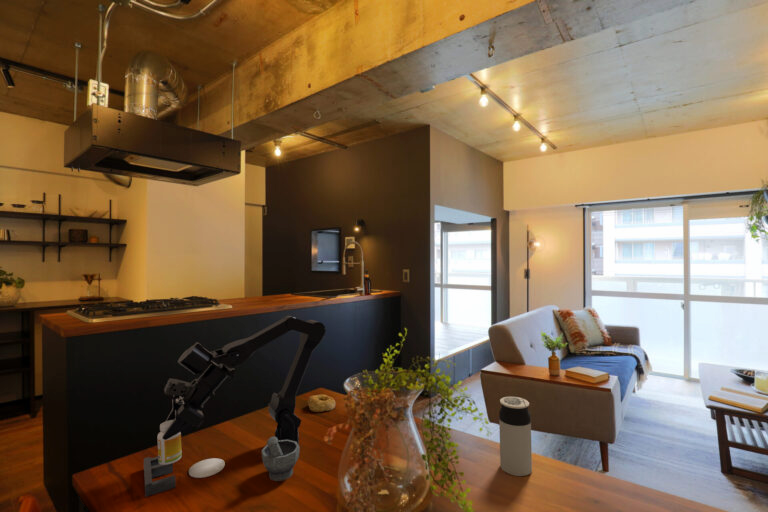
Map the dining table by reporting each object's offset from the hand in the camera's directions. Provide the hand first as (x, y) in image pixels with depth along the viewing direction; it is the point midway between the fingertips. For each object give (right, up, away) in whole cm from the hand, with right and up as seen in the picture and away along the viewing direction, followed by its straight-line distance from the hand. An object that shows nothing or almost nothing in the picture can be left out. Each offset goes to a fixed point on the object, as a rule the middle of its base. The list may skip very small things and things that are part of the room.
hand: (163, 434), depth 98 cm
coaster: (+9, -12, +6) cm, 16 cm away
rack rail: (-2, -12, +1) cm, 12 cm away
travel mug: (+93, -10, +2) cm, 94 cm away
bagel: (+34, -12, +47) cm, 59 cm away
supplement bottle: (+1, -7, +1) cm, 7 cm away
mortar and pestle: (+30, -12, +1) cm, 32 cm away
